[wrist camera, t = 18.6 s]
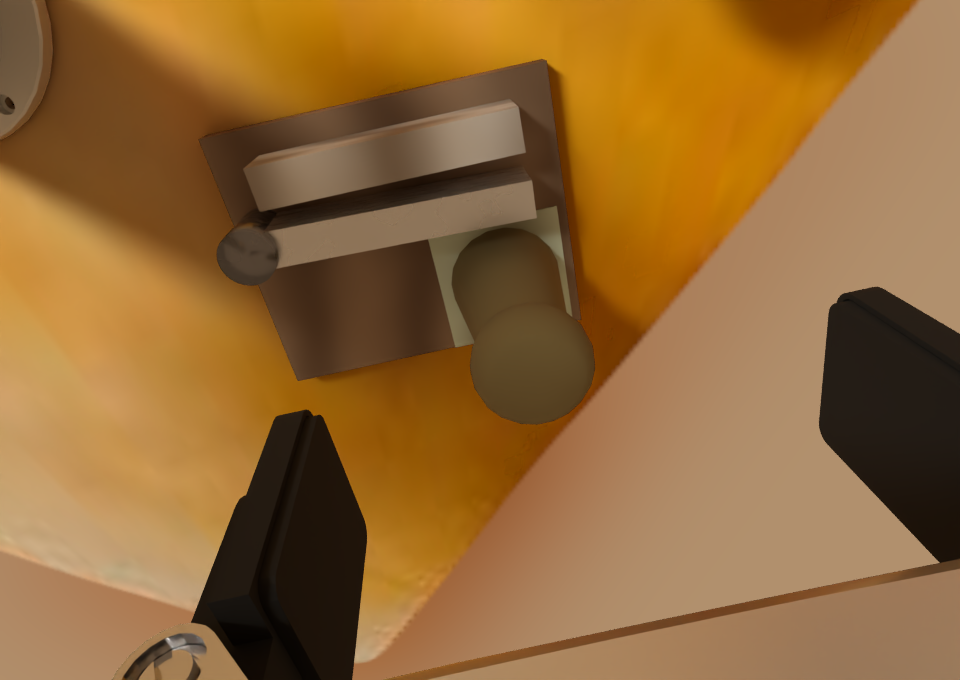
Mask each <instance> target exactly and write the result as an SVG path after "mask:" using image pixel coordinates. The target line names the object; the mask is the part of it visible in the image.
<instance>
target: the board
mask: <svg viewBox="0 0 960 680" xmlns="http://www.w3.org/2000/svg"><path fill="white" fill-rule="evenodd" d="M198 140H199V142H200V145H201V147H202V149H203V152H204V154H205V157H206V159H207V162H208V164H209V166H210V169H211V171H212V174H213V176H214V179H215V181H216V183H217V186H218V188H219V191H220V193H221V196H222V198H223V200H224V203H225V205H226V208H227V210H228V213H229V215H230V217H231V220H232V222H233V225H234V227H235V225H236V224H237V223H238V222H239V221H240V220H241V219H242V218H243V217H244V215H245V214H247V213H248V212H249V211H251V210H254V209H259V211H260V212H262V211H267V210H273V211H275V212H277V213H279V212H284V211H289V210H294V209H300V208H305V207H310V206H315V205H320V204H325V203H330V202H336V201H341V200H346V199H351V198H356V197H361V196H367V195H372V194H377V193H382V192H387V191H392V190H397V189H403V188H408V187H413V186H418V185H423V184H428V183H433V182H439V181H444V180H449V179H454V178H459V177H464V176H469V175H475V174H480V173H485V172H490V171H495V170H500V169H505V168H511V167H516V166H521V165H522V166H523V168H524V169H525V171H526V172H527V174H528V175H529V177H530V178H531V180H532V184H533V192H534V200H535V207H536V215H537V218H535V219H529V220H524V221H519V222H514V223H509V224H504V225H498V226H493V227H488V228H483V229H478V230H473V231H467V232H462V233H457V234H452V235H447V236H442V237H436V238H431V239H426V240H421V241H416V242H411V243H405V244H400V245H395V246H390V247H385V248H380V249H375V250H369V251H364V252H359V253H354V254H349V255H344V256H338V257H333V258H328V259H323V260H318V261H313V262H307V263H302V264H297V265H292V266H287V267H282V268H276V269H275V271H274V273H273V274H272V276H271V277H270V278H269V279H268V280H267V281H265V282H263V283H261V284H258V285H259V288H260V290H261V293H262V295H263V298H264V300H265V302H266V305H267V307H268V310H269V312H270V315H271V317H272V319H273V322H274V324H275V327H276V329H277V332H278V334H279V336H280V339H281V341H282V344H283V346H284V349H285V351H286V353H287V356H288V358H289V361H290V363H291V366H292V368H293V370H294V373H295V375H296V378H297V380H298V381H300V380H305V379H310V378H314V377H319V376H323V375H328V374H333V373H337V372H342V371H347V370H351V369H356V368H360V367H365V366H370V365H374V364H379V363H383V362H388V361H393V360H397V359H402V358H406V357H411V356H416V355H420V354H425V353H429V352H434V351H439V350H443V349H448V348H452V347H461V346H465V345H470V344H474V340H473V337H472V335H471V333H470V331H469V329H468V327H467V324H466V322H465V320H464V318H463V316H462V313H461V311H460V309H459V307H458V305H457V302H456V300H455V297H454V293H453V289H452V285H451V283H452V272H453V267H454V265H455V263H456V260H457V258H458V256H459V254H460V252H461V251H462V250H463V249H464V248H465V247H466V246H467V245H468V244H469V242H470V241H471V240H473V239H475V238H476V237H478V236H480V235H482V234H483V233H485V232H487V231H491V230H495V229H500V228H517V229H523V230H525V231H528V232H530V233H533V234H535V235H537V236H538V237H540V238H541V239H542V240H543V241H544V242H545V243H546V244H547V245H548V246H550V248H551V250H552V252H553V254H554V256H555V257H556V259H557V262H558V268H559V273H560V279H561V284H562V290H563V295H564V301H565V306H566V312H567V313H568V314H569V315H570V316H572V317H573V318H574V319H575V320H576V321H577V320H581V315H580V307H579V300H578V292H577V285H576V277H575V270H574V262H573V255H572V247H571V240H570V232H569V225H568V218H567V210H566V203H565V195H564V188H563V180H562V173H561V165H560V158H559V150H558V143H557V135H556V128H555V120H554V113H553V105H552V98H551V90H550V83H549V75H548V68H547V61H546V60H543V59H541V60H536V61H532V62H527V63H523V64H518V65H514V66H510V67H505V68H501V69H496V70H492V71H488V72H483V73H479V74H474V75H470V76H466V77H461V78H457V79H452V80H448V81H443V82H439V83H435V84H430V85H426V86H421V87H417V88H413V89H408V90H404V91H399V92H395V93H390V94H386V95H382V96H377V97H373V98H368V99H364V100H360V101H355V102H351V103H346V104H342V105H338V106H333V107H329V108H324V109H320V110H315V111H311V112H307V113H302V114H298V115H293V116H289V117H285V118H280V119H276V120H271V121H267V122H263V123H258V124H254V125H249V126H245V127H240V128H236V129H232V130H227V131H223V132H218V133H214V134H210V135H206V136H204V137H202V138H200V139H198Z"/></svg>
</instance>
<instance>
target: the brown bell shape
mask: <svg viewBox="0 0 960 680" xmlns="http://www.w3.org/2000/svg"><path fill="white" fill-rule="evenodd" d="M451 285H452V289H453V293H454V297H455V300H456V302H457V305H458V307H459V309H460V311H461V313H462V316H463V318H464V320H465V322H466V324H467V327H468V329H469V331H470V333H471V335H472V337H473V340H474V345H473V347H472V353H471V362H470V369H471V375H472V379H473V383H474V387H475V389H476V391H477V393H478V394H479V396H480V397H481V398H482V400H483V401H484V403H485V404H486V406H487V407H488V408H489V409H491V410H492V411H493V412H495V413H496V414H498V415H499V416H500V417H502V418H505V419H508V420H511V421H514V422H517V423H520V424H542V423H546V422H551V421H554V420H556V419H558V418H560V417H562V416H564V415H566V414H568V413H569V412H570V411H571V410H572V409H574V408H575V407H576V406H577V405H578V404H579V403H580V402H581V401H582V399H583V398H584V396H585V394H586V393H587V391H588V389H589V388H590V386H591V384H592V379H593V375H594V371H595V361H594V353H593V346H592V344H591V342H590V340H589V338H588V337H587V335H586V333H585V331H584V329H583V328H582V326H581V324H580V323H579V322H577V321H576V320H575V319H574V318H573V317H572V316H570V315H569V314H568V313H567V312H566V306H565V301H564V295H563V290H562V284H561V279H560V273H559V268H558V262H557V259H556V257H555V256H554V254H553V252H552V250H551V248H550V246H548V245H547V244H546V243H545V242H544V241H543V240H542V239H541V238H540V237H538V236H537V235H535V234H533V233H530V232H528V231H525V230H523V229H517V228H500V229H495V230H491V231H487V232H485V233H483V234H482V235H480V236H478V237H476V238H475V239H473V240H471V241H470V242H469V244H468V245H467V246H466V247H465V248H464V249H463V250H462V251H461V252H460V254H459V256H458V258H457V260H456V263H455V265H454V267H453V272H452V283H451Z"/></svg>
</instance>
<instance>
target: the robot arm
mask: <svg viewBox="0 0 960 680" xmlns="http://www.w3.org/2000/svg"><path fill="white" fill-rule="evenodd" d="M52 57H53V44H52V32H51V22H50V18H49V14H48V10H47V6H46V3H45V0H0V140H1V139H3V138H6V137H8V136H10V135H12V134H13V133H14V132H15V131H16V130H17V129H19V128H20V127H21V126H22V125H23V124H24V123H26V122H27V121H28V120H29V119H30V117H31V116H32V114H33V113H34V111H35V110H36V108H37V107H38V105H39V104H40V103H41V101H42V98H43V96H44V93H45V90H46V87H47V85H48V82H49V79H50V73H51V65H52ZM11 100H12V101H13V102H14V106H13V104H12V103H11ZM819 428H820V432H821V434H822V437H823V439H824V440H825V442H826V443H827V444H828V445H829V446H830V447H831V449H832V450H833V451H834V452H835V453H836V454H837V455H838V456H839V457H840V458H841V459H842V460H843V461H844V462H845V463H846V464H847V465H848V466H849V467H850V469H851V470H852V471H853V472H854V473H855V474H856V475H857V476H858V477H859V478H860V479H861V480H862V481H863V482H864V483H865V484H866V485H867V486H868V487H869V489H870V490H871V491H872V492H873V493H874V494H875V495H876V496H877V497H878V498H879V499H880V500H881V501H882V502H883V503H884V504H885V505H886V506H887V508H889V510H890V511H891V512H892V513H893V514H894V515H895V516H896V517H897V518H898V519H899V520H900V521H901V522H902V523H903V524H904V525H905V527H906V528H907V529H908V530H909V531H910V532H911V533H912V534H913V535H914V536H915V537H916V538H917V539H918V540H919V541H920V542H921V543H922V544H923V546H925V548H926V549H927V550H928V551H929V552H930V553H931V554H932V555H933V556H934V557H935V558H936V559H937V560H938V561H939V562H940V563H938V564H933V565H928V566H923V567H918V568H913V569H908V570H903V571H898V572H893V573H888V574H883V575H879V576H873V577H868V578H863V579H858V580H853V581H848V582H843V583H838V584H833V585H828V586H823V587H818V588H813V589H808V590H803V591H798V592H793V593H788V594H784V595H779V596H774V597H769V598H764V599H760V600H754V601H749V602H745V603H740V604H735V605H730V606H725V607H720V608H715V609H711V610H706V611H701V612H696V613H692V614H686V615H682V616H677V617H672V618H667V619H662V620H657V621H653V622H648V623H643V624H638V625H633V626H629V627H624V628H619V629H614V630H609V631H605V632H600V633H595V634H591V635H586V636H581V637H576V638H572V639H567V640H562V641H557V642H553V643H548V644H543V645H539V646H534V647H529V648H524V649H520V650H516V651H510V652H506V653H501V654H496V655H491V656H487V657H482V658H477V659H473V660H468V661H464V662H458V663H454V664H450V665H445V666H441V667H437V668H432V669H428V670H424V671H419V672H415V673H410V674H406V675H402V676H397V677H393V678H389V679H384V680H960V334H959V333H957V332H955V331H954V330H952V329H951V328H949V327H947V326H945V325H944V324H942V323H940V322H938V321H937V320H935V319H934V318H932V317H930V316H929V315H927V314H925V313H923V312H922V311H920V310H918V309H916V308H915V307H913V306H912V305H910V304H908V303H906V302H905V301H903V300H901V299H900V298H898V297H896V296H895V295H893V294H891V293H889V292H888V291H886V290H884V289H882V288H880V287H872V288H867V289H862V290H858V291H854V292H849V293H844V294H842V295H841V296H840V297H839V298H838V300H837V303H835V304H833V305H832V306H831V307H830V310H829V317H828V327H827V338H826V350H825V361H824V373H823V383H822V395H821V406H820V417H819ZM366 545H367V530H366V525H365V521H364V518H363V515H362V513H361V510H360V508H359V505H358V503H357V500H356V498H355V495H354V493H353V490H352V488H351V486H350V483H349V481H348V478H347V476H346V473H345V471H344V468H343V466H342V463H341V461H340V458H339V456H338V453H337V451H336V448H335V446H334V443H333V441H332V438H331V436H330V433H329V431H328V428H327V426H326V423H325V421H324V419H323V417H322V416H321V415H317V416H313V415H312V413H311V412H310V411H309V410H302V411H298V412H293V413H289V414H284V415H279V416H277V417H276V418H275V419H274V421H273V424H272V427H271V429H270V432H269V435H268V438H267V440H266V443H265V446H264V448H263V451H262V454H261V456H260V459H259V462H258V465H257V467H256V470H255V473H254V475H253V478H252V481H251V484H250V486H249V489H248V492H247V494H246V496H243V497H242V498H240V499H239V501H238V503H237V505H236V507H235V509H234V512H233V514H232V517H231V520H230V522H229V525H228V527H227V530H226V533H225V535H224V538H223V541H222V543H221V546H220V548H219V551H218V554H217V556H216V559H215V561H214V564H213V567H212V569H211V572H210V574H209V577H208V580H207V582H206V585H205V588H204V590H203V593H202V595H201V598H200V601H199V603H198V606H197V608H196V611H195V614H194V616H193V619H192V621H191V623H189V624H182V625H177V626H174V627H172V628H169V629H167V630H164V631H162V632H160V633H159V634H157V635H155V636H154V637H152V638H150V639H149V640H147V641H146V642H144V643H143V644H142V645H141V646H140V647H139V648H137V649H136V650H135V651H134V652H133V653H132V654H131V655H130V656H129V657H128V658H127V659H126V660H125V662H124V663H123V664H122V665H121V667H120V668H119V669H118V670H117V671H116V673H115V675H114V677H113V679H112V680H352V676H353V666H354V657H355V648H356V638H357V629H358V620H359V610H360V601H361V592H362V582H363V573H364V563H365V554H366Z"/></svg>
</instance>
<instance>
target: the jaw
mask: <svg viewBox="0 0 960 680" xmlns="http://www.w3.org/2000/svg"><path fill="white" fill-rule="evenodd" d="M535 218H537V215H536V207H535V200H534V192H533V184H532V180H531V178H530V177H529V175H528V174H527V172H526V171H525V169H524V168H523V166H522V165H521V166H516V167H511V168H505V169H500V170H495V171H490V172H485V173H480V174H475V175H469V176H464V177H459V178H454V179H449V180H444V181H439V182H433V183H428V184H423V185H418V186H413V187H408V188H403V189H397V190H392V191H387V192H382V193H377V194H372V195H367V196H361V197H356V198H351V199H346V200H341V201H336V202H330V203H325V204H320V205H315V206H310V207H305V208H300V209H294V210H289V211H284V212H279V213H277V212H275V211H273V210H267V211H262V212H260V211H259V209H254V210H251V211H249V212H248V213H247V214H245V215H244V217H243V218H242V219H241V220H240V221H239V222H238V223H237V224H236V225H235V227H234V228H233V229H232V230H231V231H230V232H229V233H228V234H227V235H226V237H225V238H224V239H223V240H222V241H221V242H220V244H219V246H218V249H217V260H218V264H219V266H220V268H221V270H222V271H223V272H224V274H225V275H226V276H227V277H229V278H230V279H231V280H233V281H235V282H237V283H239V284H243V285H258V284H261V283H263V282H265V281H267V280H268V279H269V278H270V277H271V276H272V274H273V273H274V271H275V269H276V268H282V267H287V266H292V265H297V264H302V263H307V262H313V261H318V260H323V259H328V258H333V257H338V256H344V255H349V254H354V253H359V252H364V251H369V250H375V249H380V248H385V247H390V246H395V245H400V244H405V243H411V242H416V241H421V240H426V239H431V238H436V237H442V236H447V235H452V234H457V233H462V232H467V231H473V230H478V229H483V228H488V227H493V226H498V225H504V224H509V223H514V222H519V221H524V220H529V219H535Z"/></svg>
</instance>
